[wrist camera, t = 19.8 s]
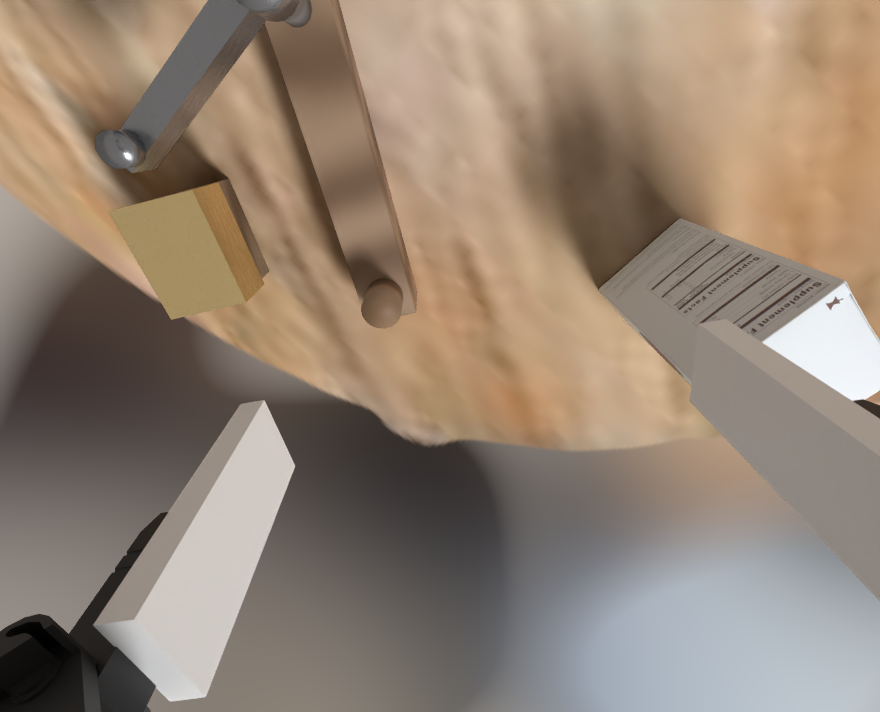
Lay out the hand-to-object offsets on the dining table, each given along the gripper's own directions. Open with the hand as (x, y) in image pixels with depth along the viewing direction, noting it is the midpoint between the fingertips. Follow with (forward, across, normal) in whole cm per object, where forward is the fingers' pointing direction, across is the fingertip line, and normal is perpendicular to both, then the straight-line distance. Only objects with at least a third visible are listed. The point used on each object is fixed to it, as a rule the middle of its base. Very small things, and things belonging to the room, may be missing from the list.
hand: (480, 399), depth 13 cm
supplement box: (+27, +19, -10) cm, 35 cm away
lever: (+17, -11, +13) cm, 24 cm away
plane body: (+27, -6, +5) cm, 28 cm away
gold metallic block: (+23, -19, +3) cm, 30 cm away
